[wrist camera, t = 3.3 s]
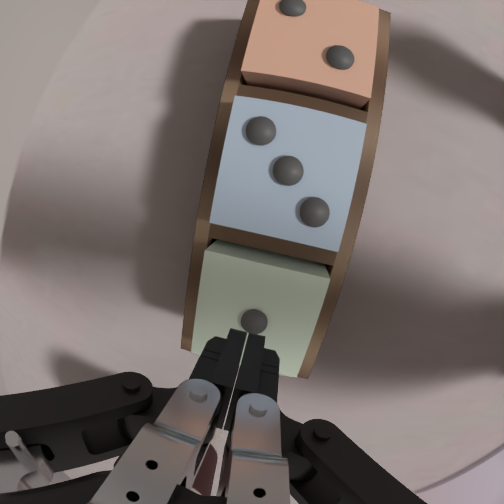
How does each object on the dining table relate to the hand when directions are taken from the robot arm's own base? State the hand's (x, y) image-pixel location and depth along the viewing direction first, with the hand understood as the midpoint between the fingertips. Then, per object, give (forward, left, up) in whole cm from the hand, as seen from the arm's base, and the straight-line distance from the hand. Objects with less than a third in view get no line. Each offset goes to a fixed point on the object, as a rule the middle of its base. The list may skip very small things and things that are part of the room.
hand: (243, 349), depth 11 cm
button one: (0, 0, -6) cm, 6 cm away
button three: (+6, -4, -6) cm, 10 cm away
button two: (+13, -9, -6) cm, 17 cm away
